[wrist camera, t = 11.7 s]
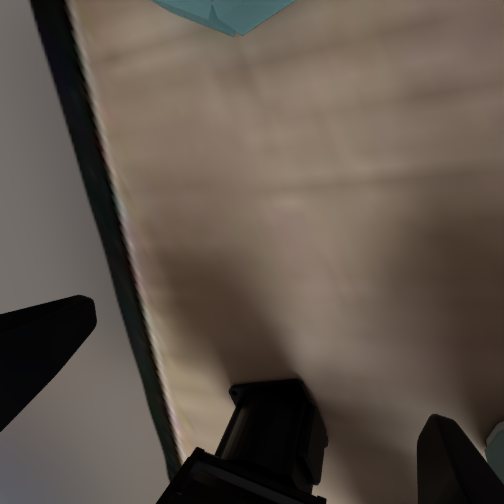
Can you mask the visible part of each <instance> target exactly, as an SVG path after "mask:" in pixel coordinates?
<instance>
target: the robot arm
mask: <svg viewBox="0 0 504 504" xmlns="http://www.w3.org/2000/svg"><path fill="white" fill-rule="evenodd" d="M96 324H97V318H96V311H95V304H94V301H93V299H91V298H89V297H86V296H83V295H76V296H72V297H68V298H64V299H60V300H56V301H52V302H48V303H44V304H40V305H36V306H32V307H28V308H24V309H20V310H16V311H12V312H8V313H4V314H0V432H1V431H2V430H3V429H4V428H5V427H6V426H7V425H8V424H9V423H10V422H11V421H12V420H13V419H14V418H15V417H16V416H17V415H18V414H19V413H20V412H21V411H22V410H23V408H25V407H26V406H27V404H28V403H29V402H30V401H31V400H32V399H33V398H34V397H35V396H36V395H37V394H38V393H39V392H40V391H41V390H42V389H43V388H44V387H45V386H46V385H47V384H48V383H49V382H50V381H51V380H52V379H53V378H54V377H55V376H56V375H57V373H58V372H59V371H60V370H61V369H62V368H63V366H64V365H65V364H66V363H67V362H68V360H69V359H70V358H71V357H72V356H73V354H74V353H75V352H76V351H77V349H78V348H79V347H80V346H81V345H82V343H83V342H84V341H85V340H86V339H87V337H88V336H89V335H90V334H91V332H92V331H93V330H94V328H95V327H96ZM297 386H298V387H297ZM229 394H230V396H231V398H232V400H233V402H234V404H235V406H236V408H235V410H234V412H233V415H232V417H231V419H230V421H229V424H228V426H227V428H226V430H225V432H224V435H223V437H222V439H221V441H220V444H219V446H218V448H217V450H216V453H215V455H212V454H210V453H207V452H205V451H204V449H202V448H199V447H196V448H195V450H194V451H193V453H192V454H191V456H190V457H188V458H187V459H186V461H185V462H184V464H183V465H182V467H181V468H180V470H179V471H178V472H177V474H176V475H175V477H174V478H173V480H172V481H171V482H170V484H169V485H168V487H167V488H166V490H165V491H164V493H163V494H162V496H161V497H160V498H159V500H158V501H157V503H156V504H326V498H323V497H321V496H318V495H317V497H316V496H314V495H312V488H313V485H318V484H319V483H320V481H321V473H322V465H323V457H324V448H326V447H327V446H328V437H327V435H326V428H325V426H324V423H323V421H322V419H321V417H320V414H319V412H318V410H317V408H316V406H315V405H314V404H313V403H312V401H311V399H310V397H309V394H308V392H307V390H306V388H305V385H304V383H303V382H302V381H301V380H299V379H289V380H279V381H269V382H258V383H248V384H237V385H232V386H231V387H230V389H229ZM417 484H418V504H504V484H503V482H502V481H501V480H500V478H499V477H498V476H497V475H496V473H495V472H494V471H493V469H492V468H491V467H490V465H489V464H488V463H487V462H486V460H485V459H484V458H483V456H482V455H481V454H480V452H479V451H478V450H477V449H476V447H475V446H474V445H473V443H472V442H471V441H470V439H469V438H468V437H467V436H466V434H465V433H464V432H463V430H462V429H461V428H460V426H459V425H458V424H457V423H456V422H455V421H454V420H452V419H450V418H447V417H444V416H441V415H438V414H432V415H431V416H430V417H429V419H428V420H427V422H426V424H425V426H424V428H423V430H422V431H421V433H420V435H419V437H418V441H417Z"/></svg>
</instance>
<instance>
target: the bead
mask: <svg viewBox="0 0 504 504" xmlns="http://www.w3.org/2000/svg"><path fill="white" fill-rule="evenodd" d="M151 1H152V2H154V3H156V4H158V5H159V6H161V7H163V8H165V9H166V10H168V11H170V12H171V13H174V14H177V15H179V16H182V17H184V18H187V19H189V20H192V21H194V22H197V23H200V24H202V25H205V26H207V27H210V28H212V29H215V30H217V31H220V32H223V33H225V34H228V35H230V36H233V37H234V34H235V31H236V32H238V33H239V34H240V35H244V34H245V33H247V32H248V31H250V30H251V29H253V28H254V27H256V26H257V25H259V24H260V23H262V22H263V21H265V20H266V19H268V18H269V17H271V16H272V15H274V14H275V13H277V12H278V11H280V10H281V9H283V8H284V7H286V6H287V5H289V4H290V3H292V2H293V1H295V0H151Z"/></svg>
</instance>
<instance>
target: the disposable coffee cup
mask: <svg viewBox="0 0 504 504" xmlns="http://www.w3.org/2000/svg"><path fill="white" fill-rule="evenodd" d="M486 442H487V448H486V449H485V454H486V458H487V462H488V464H489V465H490V467H491V468H492V469H493V471H494V472H495V473H496V475H497V476H498V477H499V478H500V480H501V481H502V482H503V484H504V421H503V422H500V423H498V424H497V425H496V426H495V428H494V429H493V431H492V432H491V434H490V435H489V437H488V438H487V439H486Z"/></svg>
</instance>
